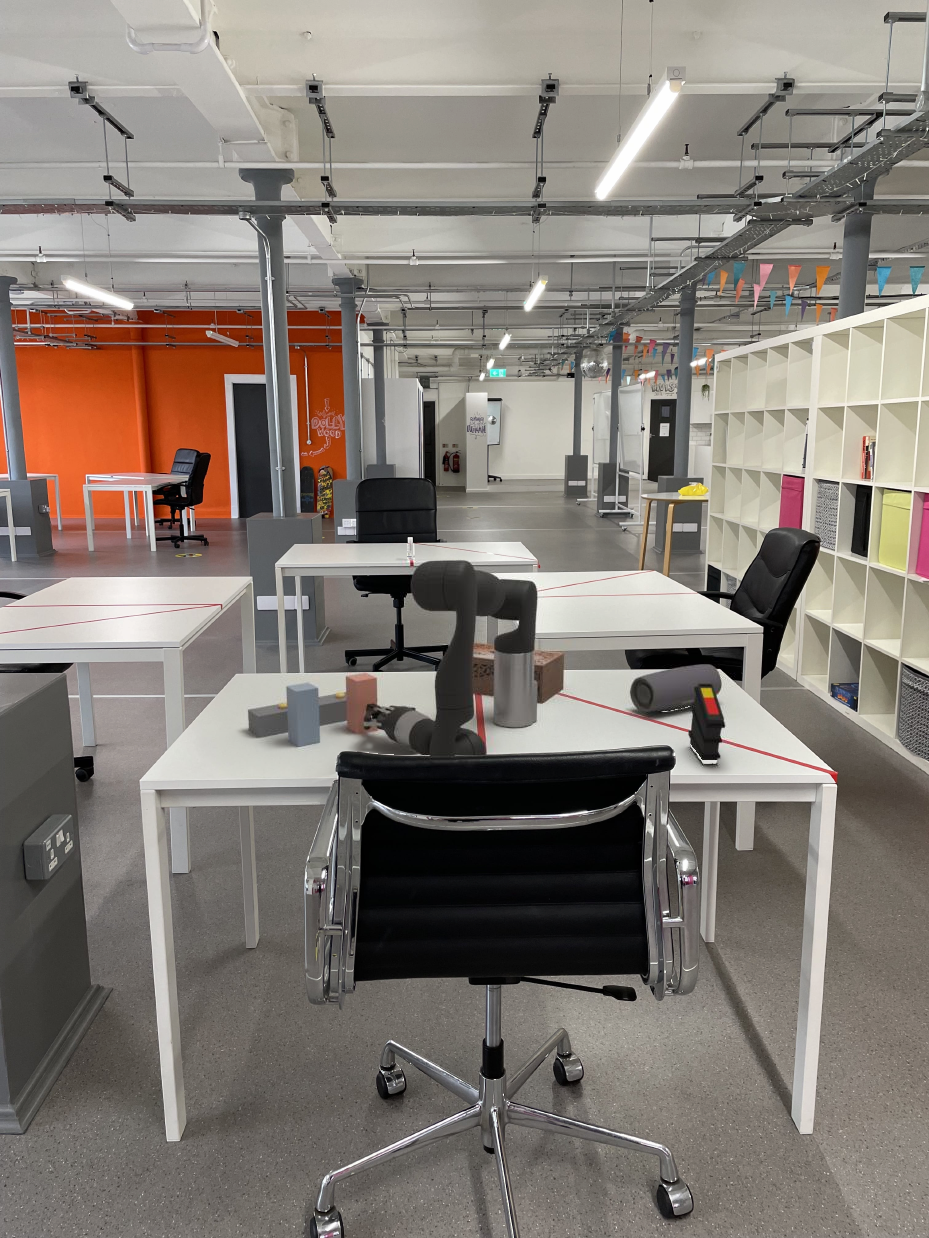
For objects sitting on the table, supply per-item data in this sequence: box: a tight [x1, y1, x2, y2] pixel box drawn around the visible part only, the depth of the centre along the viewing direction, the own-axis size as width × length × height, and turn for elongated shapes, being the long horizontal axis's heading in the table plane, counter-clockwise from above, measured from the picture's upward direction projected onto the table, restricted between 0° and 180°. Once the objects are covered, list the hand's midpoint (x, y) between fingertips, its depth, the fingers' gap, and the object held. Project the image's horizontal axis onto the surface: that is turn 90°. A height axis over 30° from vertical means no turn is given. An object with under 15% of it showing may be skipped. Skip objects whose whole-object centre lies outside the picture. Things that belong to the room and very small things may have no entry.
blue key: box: [285, 682, 321, 748], centre depth 188 cm, size 5×5×12 cm
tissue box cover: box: [472, 642, 565, 705], centre depth 231 cm, size 26×14×10 cm, turn 63°
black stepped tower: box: [688, 683, 726, 761], centre depth 183 cm, size 4×13×15 cm, turn 0°
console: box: [247, 691, 347, 739], centre depth 196 cm, size 28×19×7 cm
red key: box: [345, 672, 379, 735], centre depth 196 cm, size 5×5×12 cm
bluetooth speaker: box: [629, 663, 723, 713], centre depth 216 cm, size 23×9×10 cm, turn 123°
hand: (369, 708), depth 193 cm, fingers closed
